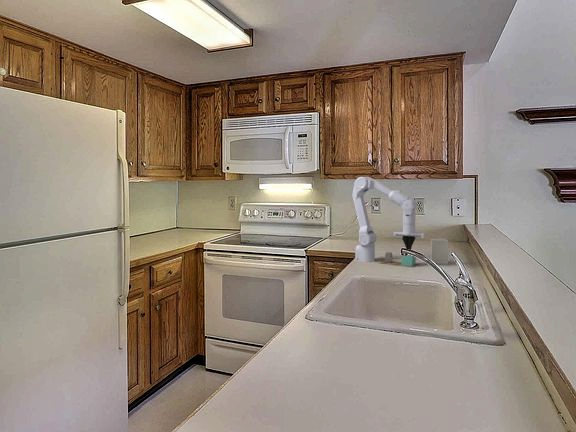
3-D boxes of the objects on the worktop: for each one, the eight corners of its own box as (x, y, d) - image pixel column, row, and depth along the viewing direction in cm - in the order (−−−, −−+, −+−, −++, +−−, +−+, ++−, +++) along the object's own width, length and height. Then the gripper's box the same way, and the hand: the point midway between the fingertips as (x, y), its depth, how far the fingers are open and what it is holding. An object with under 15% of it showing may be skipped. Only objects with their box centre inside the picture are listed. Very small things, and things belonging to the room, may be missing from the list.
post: (385, 262, 197) (385, 252, 197) (387, 261, 199) (387, 252, 199) (390, 263, 195) (390, 253, 195) (392, 262, 198) (392, 252, 197)
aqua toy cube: (401, 265, 191) (401, 251, 190) (404, 263, 195) (405, 250, 194) (412, 266, 188) (412, 252, 187) (415, 264, 192) (415, 251, 191)
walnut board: (377, 265, 196) (377, 263, 196) (384, 262, 203) (384, 260, 203) (413, 269, 186) (413, 267, 186) (419, 266, 193) (419, 264, 193)
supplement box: (448, 266, 191) (448, 240, 190) (432, 266, 193) (432, 240, 192) (445, 263, 199) (446, 238, 198) (430, 262, 200) (430, 238, 199)
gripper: (391, 223, 191) (391, 251, 192) (421, 225, 182) (421, 254, 183) (396, 222, 196) (396, 249, 198) (426, 223, 188) (425, 251, 189)
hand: (408, 251), depth 191 cm, fingers closed, pressing on aqua toy cube
